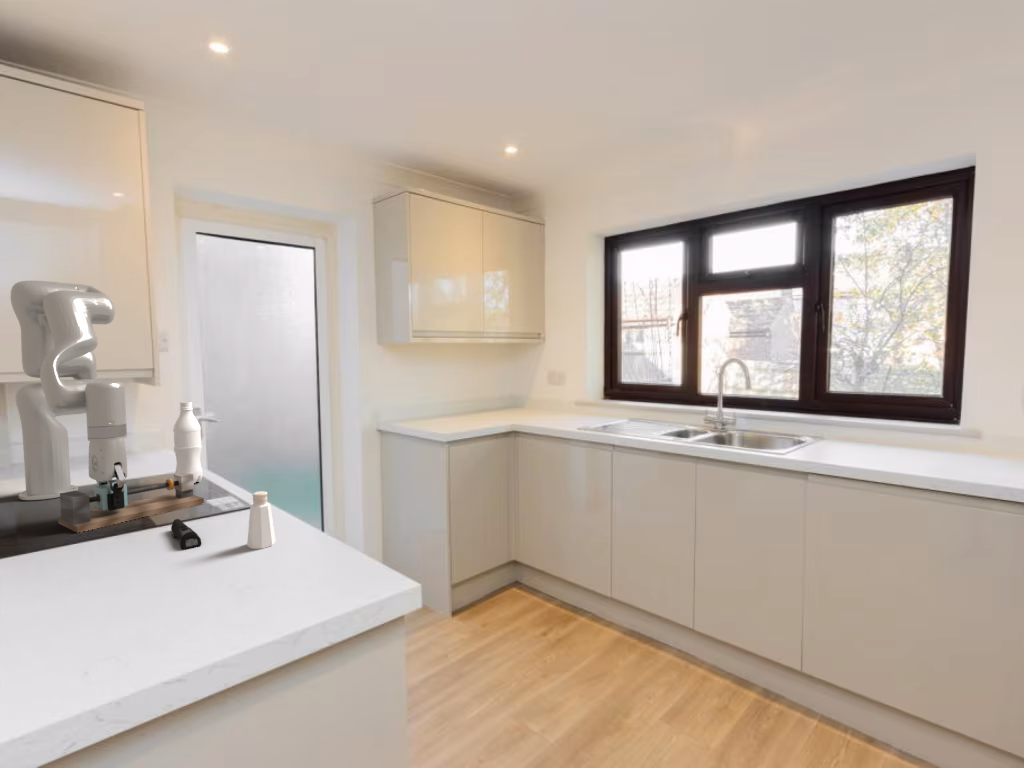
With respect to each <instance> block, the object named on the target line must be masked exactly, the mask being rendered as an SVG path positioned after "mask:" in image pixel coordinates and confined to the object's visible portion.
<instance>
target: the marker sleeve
mask: <svg viewBox="0 0 1024 768" xmlns="http://www.w3.org/2000/svg"><path fill="white" fill-rule="evenodd" d="M113 485H114V483H112V486H113ZM127 490H128V484H124V504H125V506H126V505H128V503H129V502H128V495H127ZM107 494H109V490H108V484H105V485H99V486H97V485H95V486H93V497H95V496H100V501H95V502H93V503H94V508H96V509H101V510H107V509H108V501H107Z"/></svg>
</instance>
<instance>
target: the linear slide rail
mask: <svg viewBox="0 0 1024 768" xmlns="http://www.w3.org/2000/svg"><path fill="white" fill-rule="evenodd" d="M194 485H195V484H194V480H193V474H191V473H187V472H185V473H179V474H175V473H174V474H173V479H172V478H168V479H166V480H165V482H163V483H158V484H152V485H148V486H142V487H137V488H132V489H127V496H130V495H134V494H135V495H137V494H140V493H146V492H150V491H156V490H160V489H166V490H167V491H171V490H175V492H172V493H167V494H163V495H158V496H153V497H149V498H145V499H139V500H135V501H129V502H128V505H126V506H125V507H124V508H121V509H116V510H112V511H110V510H108V509H107V510H101V509H98V508H96V509H92V510H91V509H90V503H94V502H95V501H100V496H95V497H94V496H90V495H89V494H86V493H83V492H82V491H79V490H78V491H70V492H64V493H60V497H59V501H60V503H59V504H60V516H58V517H57V518H58V520H57V521H58V524H59V525H60V526H63V527H65V528H67V529H69V530H71V531H72V532H75V533H77V534H80V533H84V532H83V531H85V532H87V531H88V530H89V531H92V529H93V530H96V529H97V528H98V529H101V527H102V528H105V526H106V527H110V526H114V525H113V524H115V525H119V524H122V523H121V522H123V523H126V522H125V521H128V522H130V521H129V520H132V521H134V520H133V519H136V520H139V519H138V518H140V519H142V518H141V517H145V516H149V515H153V514H157V513H162V512H166V513H169V512H168V511H170V512H174V511H173V510H175V511H178V510H177V509H179V510H181V509H182V508H183V509H187V508H191V506H192V507H195V505H196V506H200V505H203V504H202V503H205V498H204V497H202V496H201V497H200V496H198V495H195V494H194V489H195V488H194V487H195V486H194ZM199 504H200V505H199ZM186 507H187V508H186ZM183 509H182V510H183ZM162 514H163V513H162ZM153 516H154V515H153ZM149 517H150V516H149ZM145 518H146V517H145ZM118 523H119V524H118ZM109 525H110V526H109ZM79 532H80V533H79Z"/></svg>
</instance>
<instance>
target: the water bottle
mask: <svg viewBox="0 0 1024 768" xmlns="http://www.w3.org/2000/svg"><path fill="white" fill-rule="evenodd" d="M179 404H180V407H179V412H180V413H179V416H178V417H177V419H176V421H175V424H174V426H173V428H172V429H173V430H172V432H173V444H174V447H173V451H174V453H175V458H176V468H175V473H174V474H179V473H185V472H187V473H191V474H193V480H194V483H195V484H196V482H199V483H201V481H202V479H203V476H204V475H203V474H204V472H203V468H202V464H201V453H202V449H203V447H202V446H203V445H202V433H201V430H202V427H201V424H200V423H199V420H198V419H197V418H196V416H195V415H194V412H193V410H194V408H193V401H180V403H179Z"/></svg>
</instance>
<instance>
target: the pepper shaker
mask: <svg viewBox="0 0 1024 768" xmlns="http://www.w3.org/2000/svg"><path fill="white" fill-rule="evenodd" d="M252 499H253V500H252V501H253V503H252V504H251V505H250V507H249V517H248V518H249V520H248V533H247V542H246V543H247V544H246V545H247V547H248V548H249V549H251V550H262V549H266V547H267V548H269V547H273V546H274V545H275V543H276V542H277V540H276V534H275V527H274V520H273V513H272V506H271V503H269V502H268V492H267V491H262V490H261V491H255V492H254V493H252Z"/></svg>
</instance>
